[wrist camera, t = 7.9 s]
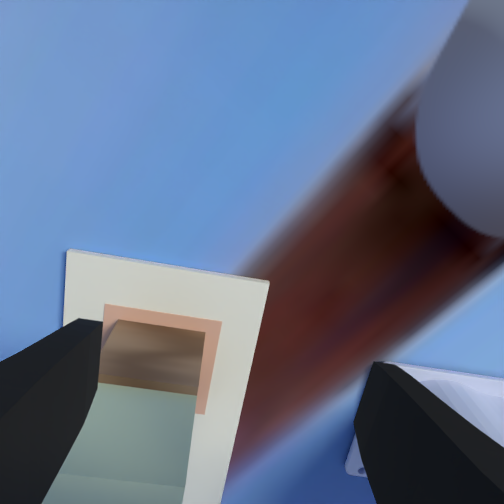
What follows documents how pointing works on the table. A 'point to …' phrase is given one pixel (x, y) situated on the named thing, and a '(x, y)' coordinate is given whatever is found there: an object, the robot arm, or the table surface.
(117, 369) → the walnut block
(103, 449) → the sage block
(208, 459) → the build mat
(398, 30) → the table surface
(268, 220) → the table surface
